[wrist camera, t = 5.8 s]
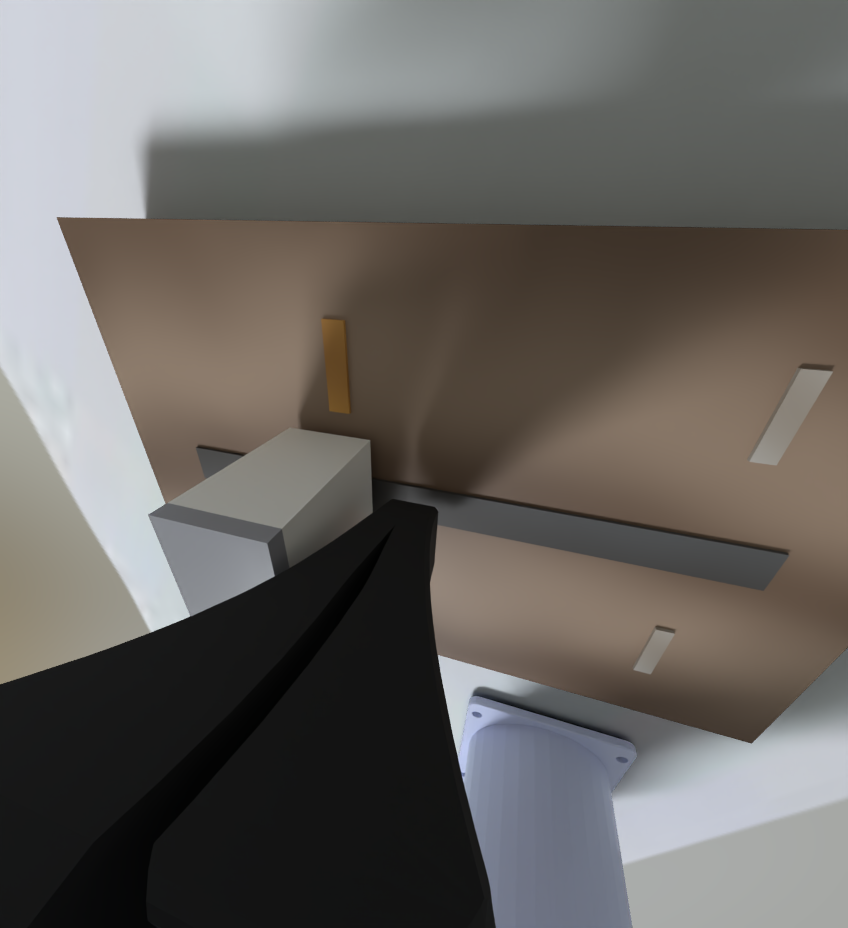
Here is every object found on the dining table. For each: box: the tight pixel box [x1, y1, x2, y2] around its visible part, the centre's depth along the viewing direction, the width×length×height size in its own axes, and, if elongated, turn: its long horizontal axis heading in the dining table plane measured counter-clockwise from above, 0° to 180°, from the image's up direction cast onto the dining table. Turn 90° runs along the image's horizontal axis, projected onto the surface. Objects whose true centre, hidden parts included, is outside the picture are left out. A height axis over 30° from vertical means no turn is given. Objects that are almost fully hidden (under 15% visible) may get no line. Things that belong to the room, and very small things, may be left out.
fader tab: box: [148, 428, 373, 616], centre depth 9 cm, size 4×2×4 cm, turn 177°
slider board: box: [57, 217, 848, 743], centre depth 11 cm, size 14×22×3 cm, turn 87°
